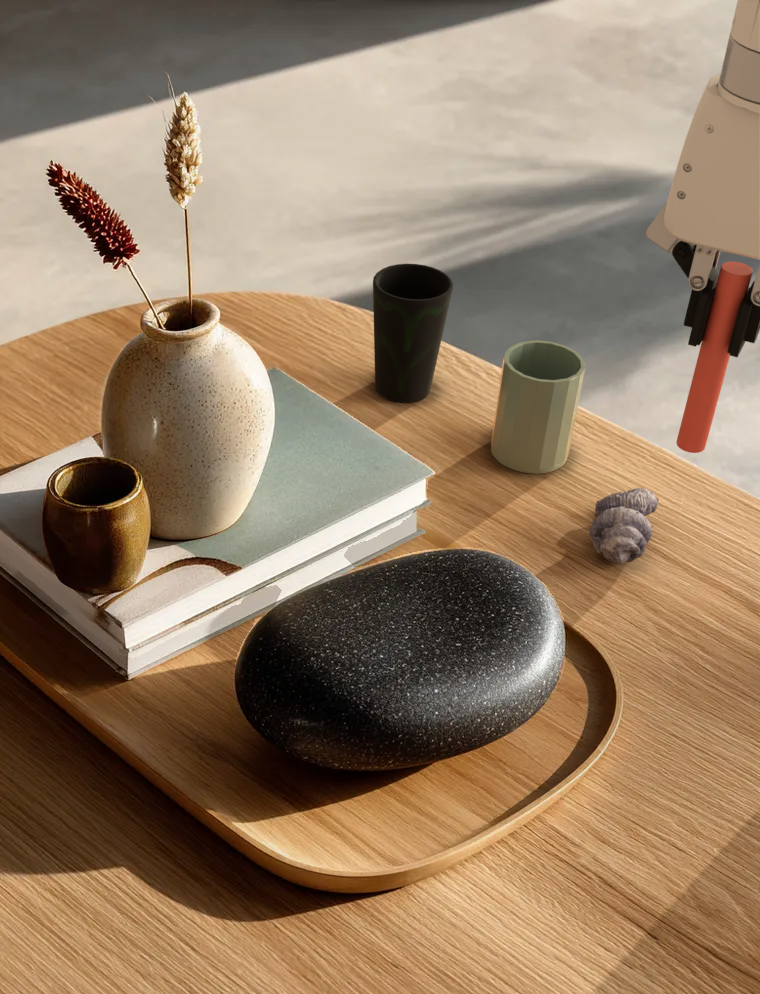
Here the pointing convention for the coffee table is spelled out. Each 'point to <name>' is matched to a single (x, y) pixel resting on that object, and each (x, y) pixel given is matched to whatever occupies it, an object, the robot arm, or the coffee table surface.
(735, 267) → the rod
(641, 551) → the seashell
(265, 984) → the coffee table surface
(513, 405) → the tumbler
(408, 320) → the cup
